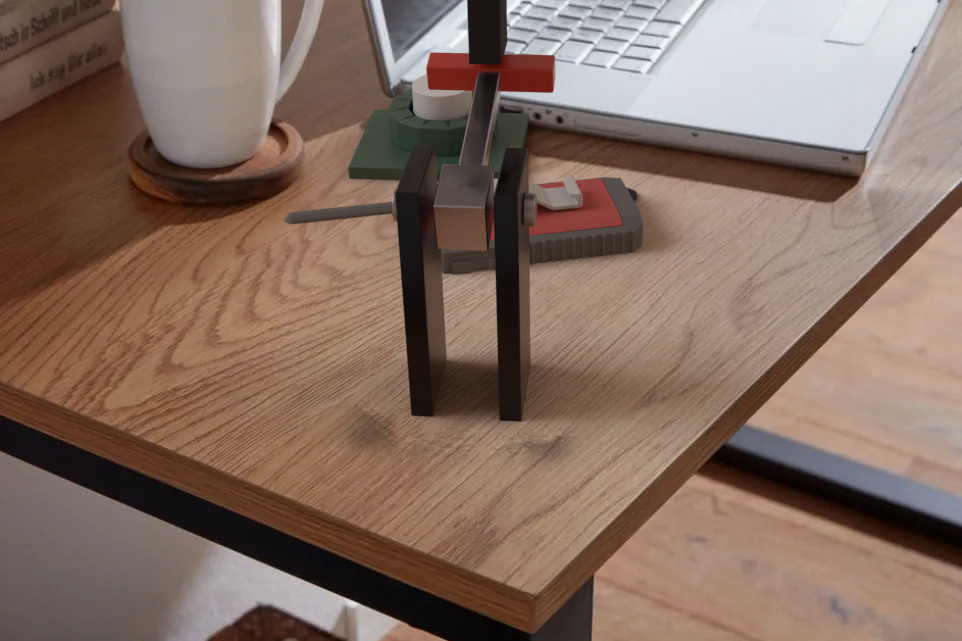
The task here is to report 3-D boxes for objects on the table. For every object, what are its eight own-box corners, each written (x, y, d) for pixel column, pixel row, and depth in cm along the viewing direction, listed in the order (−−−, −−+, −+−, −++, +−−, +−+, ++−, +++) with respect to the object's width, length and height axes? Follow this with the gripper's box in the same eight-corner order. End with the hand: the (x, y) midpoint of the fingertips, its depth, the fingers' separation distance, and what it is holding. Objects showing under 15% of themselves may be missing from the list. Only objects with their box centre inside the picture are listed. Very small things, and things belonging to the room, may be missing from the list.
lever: (432, 84, 65) (428, 41, 63) (555, 87, 64) (555, 44, 63) (392, 247, 57) (386, 204, 55) (533, 253, 56) (532, 209, 54)
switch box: (530, 143, 86) (529, 85, 83) (516, 205, 79) (516, 144, 77) (376, 138, 87) (372, 81, 85) (350, 199, 80) (345, 139, 78)
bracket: (403, 359, 66) (386, 124, 59) (564, 367, 65) (566, 129, 58) (372, 463, 60) (348, 213, 53) (551, 474, 59) (552, 220, 52)
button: (475, 98, 83) (475, 72, 82) (468, 124, 80) (467, 97, 79) (418, 97, 83) (417, 71, 82) (408, 122, 80) (407, 95, 79)
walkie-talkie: (624, 196, 79) (286, 232, 77) (627, 129, 77) (278, 164, 75) (666, 273, 72) (294, 315, 70) (670, 201, 70) (285, 242, 67)
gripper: (278, -538, 47) (335, 82, 60) (649, -548, 46) (625, 90, 59) (325, -544, 53) (367, 20, 67) (653, -553, 52) (630, 26, 65)
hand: (488, 52), depth 63 cm, fingers closed
